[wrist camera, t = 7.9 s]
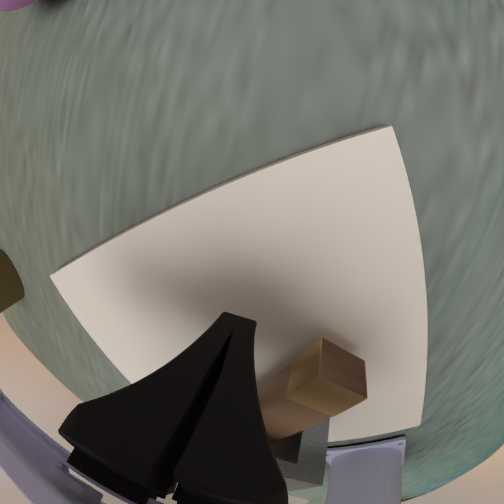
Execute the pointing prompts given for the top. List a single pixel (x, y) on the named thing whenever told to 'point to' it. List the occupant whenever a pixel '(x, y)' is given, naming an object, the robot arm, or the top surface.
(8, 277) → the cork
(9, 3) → the teapot
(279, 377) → the link
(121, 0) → the top surface
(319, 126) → the top surface
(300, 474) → the keeper
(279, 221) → the board
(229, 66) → the top surface
